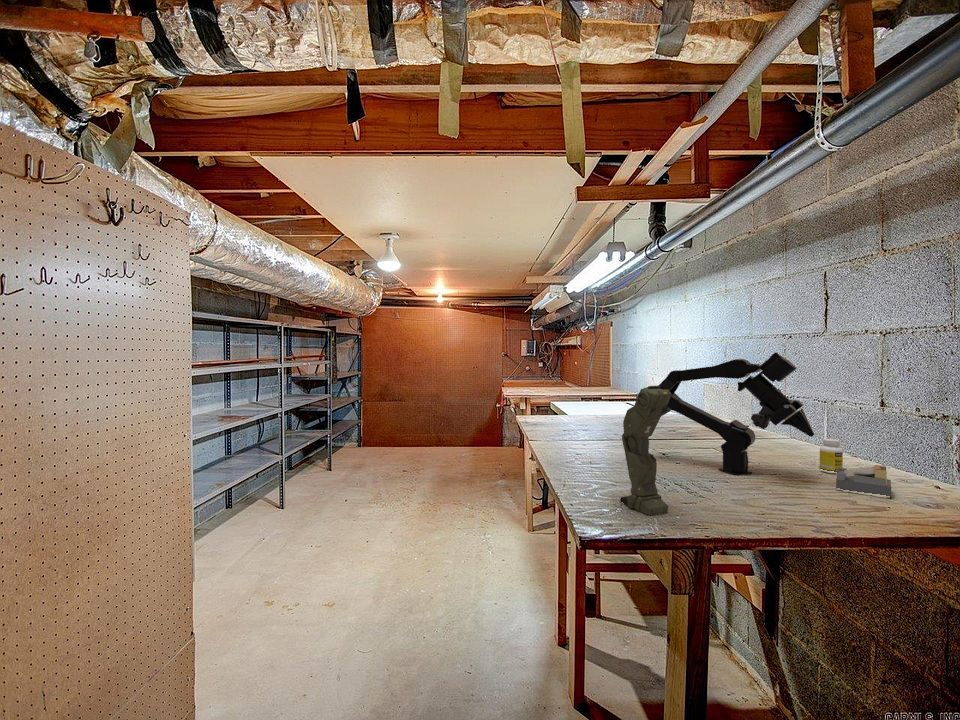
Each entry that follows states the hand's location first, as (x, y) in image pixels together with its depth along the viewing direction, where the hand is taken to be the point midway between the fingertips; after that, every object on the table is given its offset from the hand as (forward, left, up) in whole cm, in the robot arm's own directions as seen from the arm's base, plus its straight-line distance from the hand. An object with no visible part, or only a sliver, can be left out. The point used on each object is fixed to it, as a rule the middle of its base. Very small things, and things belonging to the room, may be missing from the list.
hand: (812, 435), depth 121 cm
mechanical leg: (-55, -1, -13) cm, 57 cm away
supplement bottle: (+17, +6, -13) cm, 22 cm away
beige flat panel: (+3, -5, -9) cm, 11 cm away
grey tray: (+5, -9, -13) cm, 17 cm away
